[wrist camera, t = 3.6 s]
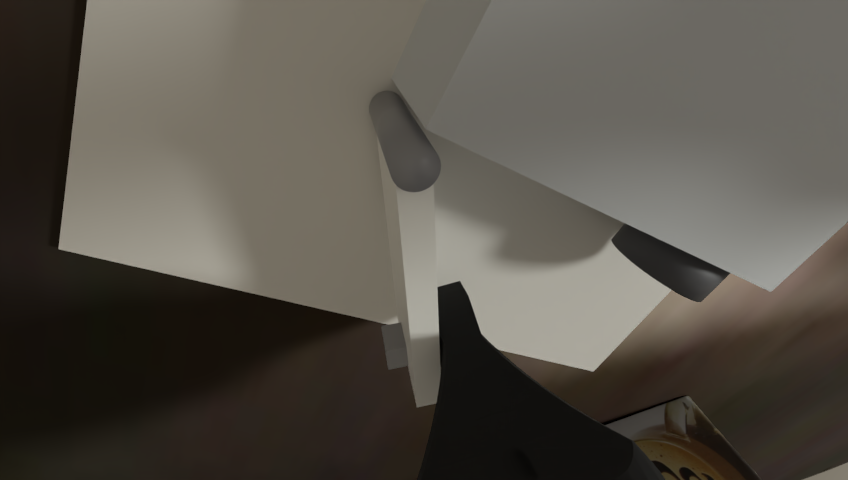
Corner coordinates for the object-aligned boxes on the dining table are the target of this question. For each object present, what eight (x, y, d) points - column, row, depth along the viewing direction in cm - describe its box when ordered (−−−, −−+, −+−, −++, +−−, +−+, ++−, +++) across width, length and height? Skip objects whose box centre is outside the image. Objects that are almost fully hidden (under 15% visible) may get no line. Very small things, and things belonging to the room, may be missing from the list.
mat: (886, 52, 13) (897, 54, 12) (589, 366, 19) (593, 371, 19) (193, -810, 4) (185, -855, 4) (64, 242, 11) (58, 248, 10)
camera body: (840, 21, 11) (1094, 42, 8) (645, 246, 15) (755, 338, 11) (563, -308, 7) (850, -647, 3) (371, 123, 10) (399, 207, 6)
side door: (346, 94, 10) (357, 150, 7) (403, 88, 10) (440, 140, 7) (379, 319, 14) (396, 418, 11) (419, 312, 14) (447, 407, 11)
